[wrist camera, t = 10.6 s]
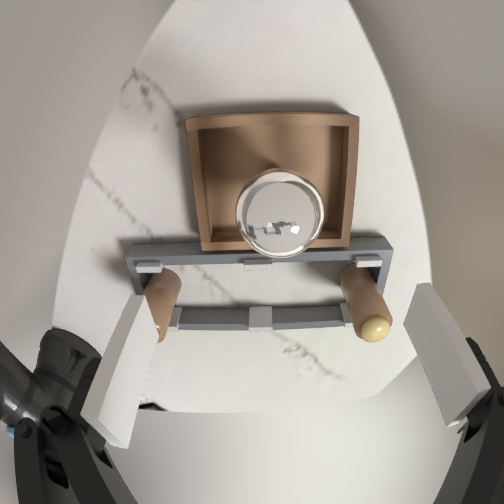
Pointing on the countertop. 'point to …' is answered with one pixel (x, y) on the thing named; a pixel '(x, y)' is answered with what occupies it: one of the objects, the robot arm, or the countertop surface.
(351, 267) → the cylinder
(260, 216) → the light bulb
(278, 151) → the tray
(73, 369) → the robot arm
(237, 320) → the holder
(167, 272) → the cylinder
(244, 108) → the countertop surface
